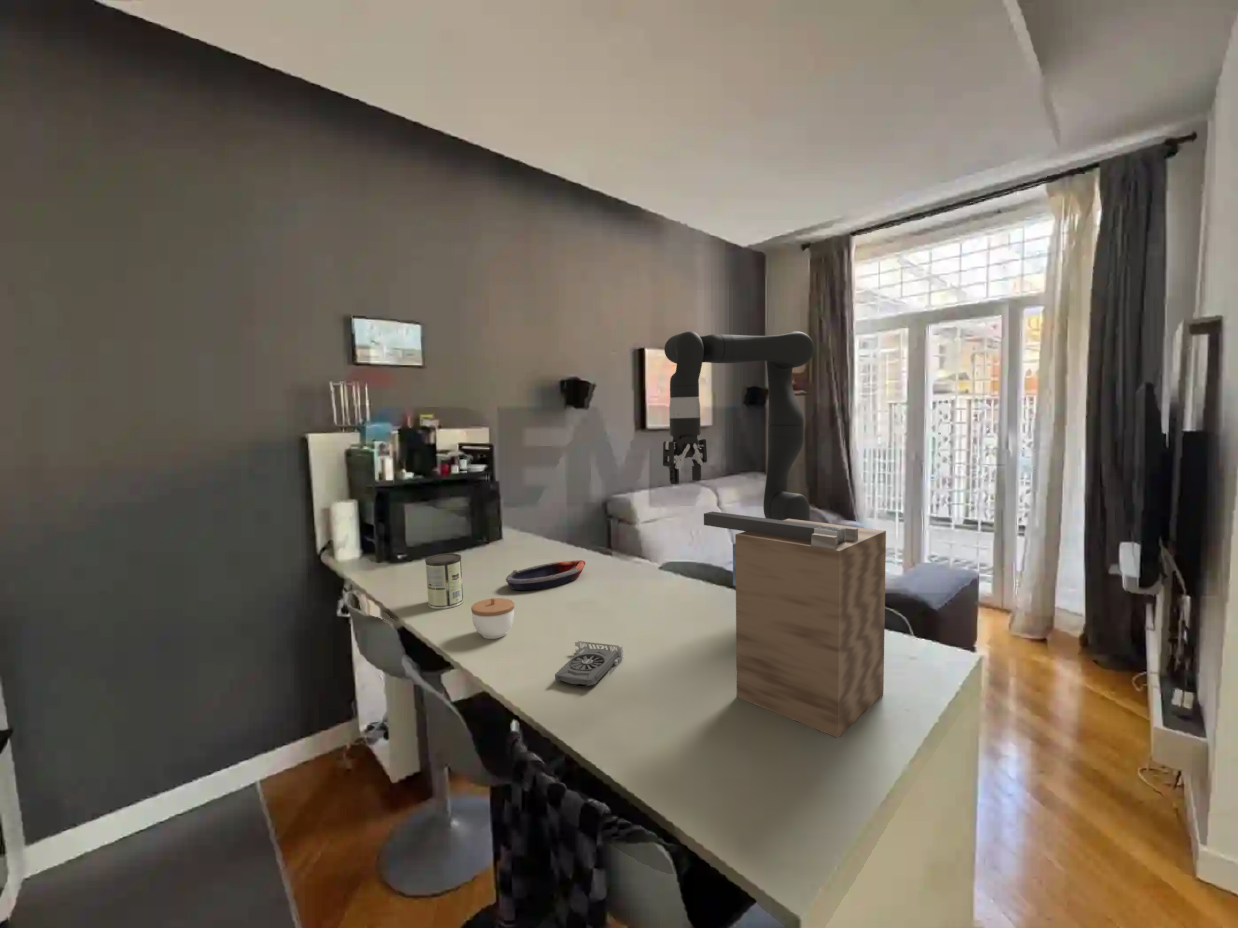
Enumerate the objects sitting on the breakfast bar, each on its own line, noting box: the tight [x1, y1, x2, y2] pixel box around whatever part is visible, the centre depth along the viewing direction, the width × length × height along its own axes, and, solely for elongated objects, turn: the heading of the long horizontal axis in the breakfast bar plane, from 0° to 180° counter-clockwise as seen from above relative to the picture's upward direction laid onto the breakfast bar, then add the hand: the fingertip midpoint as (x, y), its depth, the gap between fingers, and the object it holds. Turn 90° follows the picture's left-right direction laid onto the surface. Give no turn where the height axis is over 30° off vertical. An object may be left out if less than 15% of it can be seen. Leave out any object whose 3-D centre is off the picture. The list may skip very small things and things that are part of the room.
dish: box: [505, 559, 586, 591], centre depth 186 cm, size 16×31×5 cm, turn 129°
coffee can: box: [424, 552, 464, 610], centre depth 166 cm, size 10×10×14 cm
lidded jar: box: [470, 597, 515, 640], centre depth 142 cm, size 11×11×9 cm
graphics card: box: [554, 640, 624, 688], centre depth 120 cm, size 17×4×12 cm
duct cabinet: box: [732, 519, 887, 739], centre depth 106 cm, size 20×21×34 cm
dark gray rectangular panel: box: [703, 511, 845, 545], centre depth 105 cm, size 3×28×2 cm, turn 44°
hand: (685, 482), depth 137 cm, fingers open, 8 cm apart
